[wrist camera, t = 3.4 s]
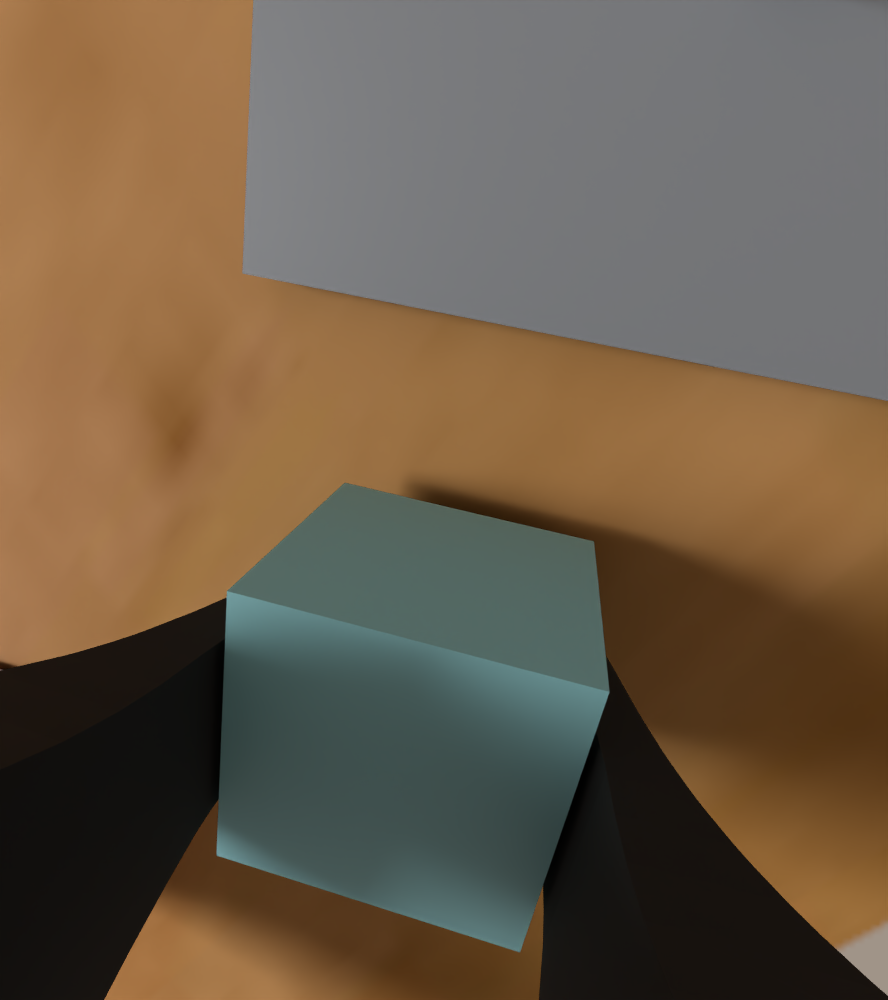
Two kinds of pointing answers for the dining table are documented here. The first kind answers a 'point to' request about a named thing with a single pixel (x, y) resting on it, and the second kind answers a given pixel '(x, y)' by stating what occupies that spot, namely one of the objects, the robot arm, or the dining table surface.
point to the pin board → (587, 171)
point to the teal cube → (411, 708)
